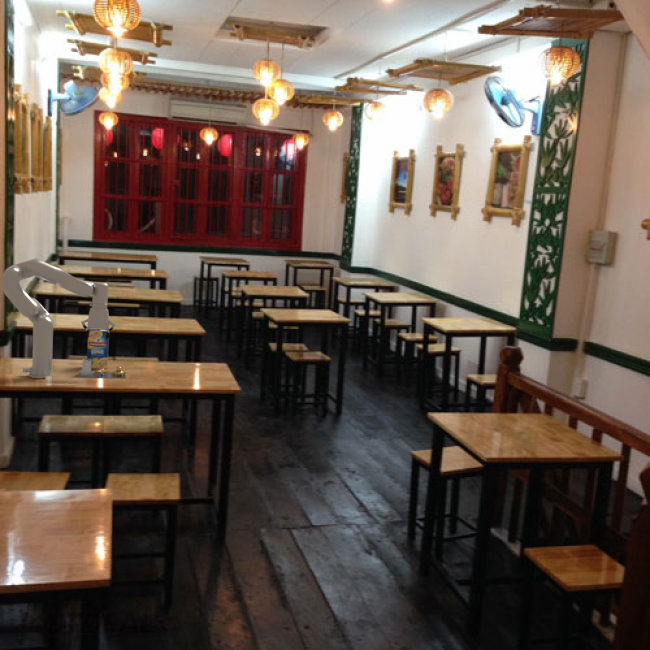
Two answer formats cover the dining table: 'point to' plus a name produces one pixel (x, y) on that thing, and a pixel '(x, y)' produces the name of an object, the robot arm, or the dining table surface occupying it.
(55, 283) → the robot arm
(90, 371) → the square hollow tube
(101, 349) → the beverage box
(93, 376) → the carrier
